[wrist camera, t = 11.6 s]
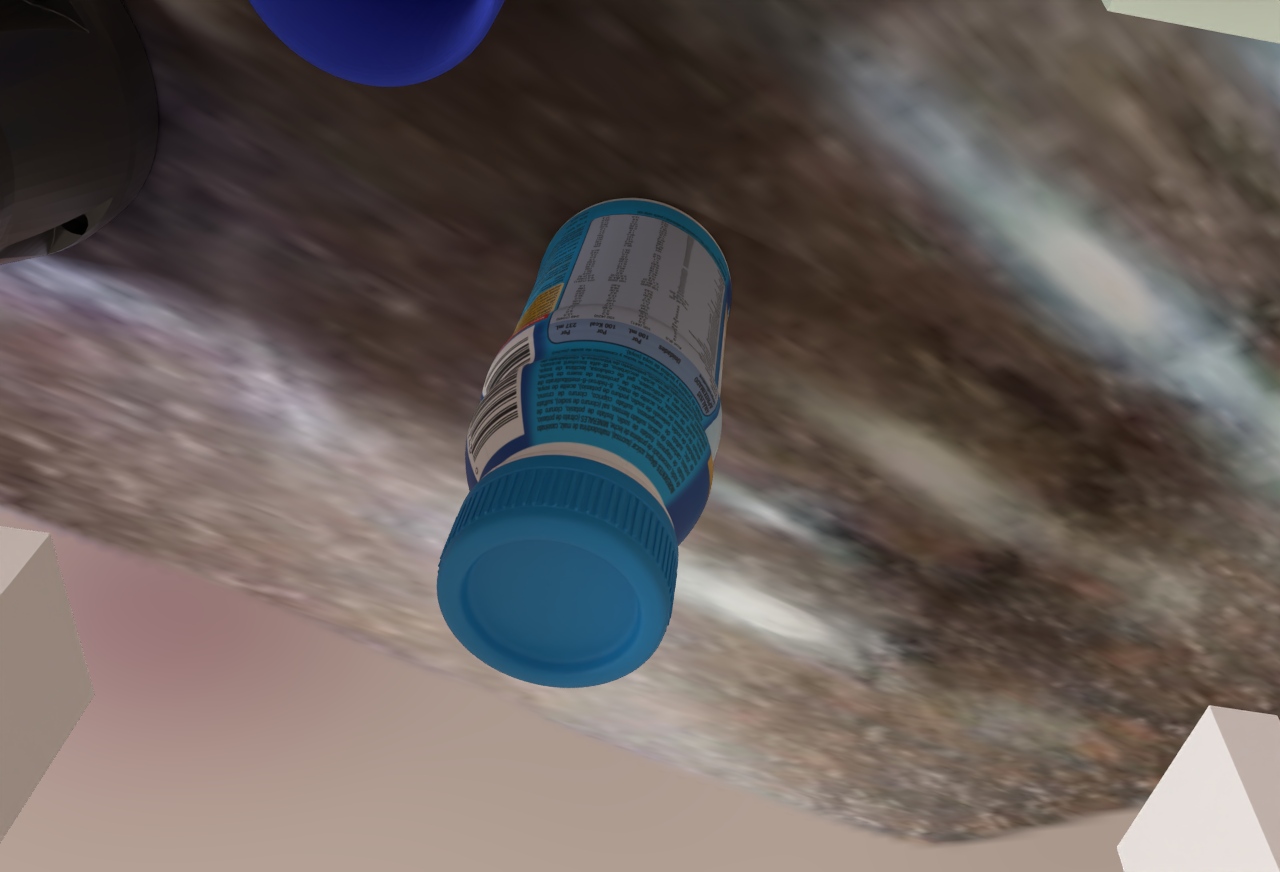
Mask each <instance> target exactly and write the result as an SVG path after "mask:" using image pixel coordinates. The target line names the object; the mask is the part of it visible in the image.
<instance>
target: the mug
mask: <svg viewBox="0 0 1280 872" xmlns="http://www.w3.org/2000/svg"><path fill="white" fill-rule="evenodd" d="M504 1H505V0H249V2H250V3H251V5H252V7H253V8H254V9H255V11H256V12H257V13H258V15H259V16H260V17H261V19H262V20H263V21H264V23H265V24H266V25H267V26H268V27H269V29H270V30H271V31H272V32H273V33H274V34H275V35H276V36H277V37H278V38H279V39H280V40H281V41H282V42H283V43H284V44H285V45H287V46H288V47H289V48H290V49H291V50H292V51H294V52H295V53H296V54H298V55H299V56H300V57H302V58H303V59H305V60H306V61H308V62H309V63H311V64H312V65H314V66H316V67H318V68H319V69H321V70H323V71H325V72H327V73H330V74H332V75H334V76H336V77H339V78H342V79H345V80H348V81H351V82H355V83H359V84H364V85H370V86H380V87H397V86H406V85H412V84H417V83H420V82H424V81H427V80H430V79H432V78H435V77H437V76H440V75H442V74H443V73H445V72H447V71H449V70H450V69H452V68H454V67H455V66H456V65H458V64H459V63H460V62H462V61H463V60H464V59H465V58H466V57H468V56H469V55H470V54H471V53H472V52H473V51H474V50H475V48H476V47H477V46H478V45H479V44H480V43H481V41H482V40H483V39H484V37H485V36H486V34H487V33H488V31H489V29H490V28H491V26H492V24H493V22H494V20H495V19H496V17H497V15H498V13H499V11H500V9H501V7H502V5H503V3H504Z"/></svg>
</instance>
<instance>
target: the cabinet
mask: <svg viewBox="0 0 1280 872" xmlns="http://www.w3.org/2000/svg"><path fill="white" fill-rule="evenodd" d="M1102 2H1103V4H1104V5H1105V7H1106V9H1107V11H1111V12H1117V13H1122V14H1127V15H1132V16H1138V17H1143V18H1148V19H1153V20H1159V21H1164V22H1169V23H1174V24H1180V25H1185V26H1190V27H1195V28H1201V29H1206V30H1211V31H1216V32H1222V33H1227V34H1232V35H1237V36H1243V37H1248V38H1253V39H1258V40H1264V41H1269V42H1274V43H1279V44H1280V0H1102Z"/></svg>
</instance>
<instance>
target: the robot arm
mask: <svg viewBox="0 0 1280 872" xmlns="http://www.w3.org/2000/svg"><path fill="white" fill-rule="evenodd" d="M157 138H158V105H157V97H156V90H155V85H154V81H153V76H152V72H151V69H150V65H149V62H148V59H147V56H146V53H145V50H144V48H143V45H142V43H141V40H140V38H139V36H138V33H137V31H136V29H135V27H134V25H133V23H132V21H131V19H130V17H129V15H128V13H127V11H126V10H125V8H124V6H123V4H122V3H121V1H120V0H0V265H2V264H7V263H11V262H16V261H21V260H26V259H31V258H35V257H40V256H45V255H50V254H53V253H56V252H59V251H62V250H65V249H67V248H69V247H72V246H74V245H76V244H78V243H80V242H82V241H83V240H85V239H87V238H89V237H90V236H91V235H93V234H94V233H96V232H97V231H98V230H100V229H101V228H102V227H103V226H105V225H106V224H107V223H108V222H110V221H111V220H112V219H113V218H115V217H116V216H117V215H118V214H119V213H121V212H122V211H123V210H124V209H125V208H126V207H127V206H128V205H129V204H130V203H131V202H132V201H133V199H134V198H135V197H136V195H137V194H138V193H139V191H140V189H141V188H142V186H143V185H144V183H145V181H146V178H147V176H148V174H149V172H150V169H151V166H152V163H153V159H154V155H155V151H156V145H157ZM94 695H95V694H94V690H93V686H92V683H91V679H90V676H89V672H88V668H87V664H86V661H85V657H84V654H83V650H82V646H81V643H80V639H79V635H78V632H77V628H76V625H75V621H74V617H73V614H72V610H71V607H70V603H69V599H68V596H67V592H66V588H65V585H64V581H63V578H62V574H61V570H60V567H59V563H58V559H57V556H56V552H55V548H54V545H53V541H52V538H51V534H50V533H45V532H38V531H31V530H24V529H18V528H11V527H4V526H0V843H1V841H2V840H3V838H4V836H5V835H6V833H7V832H8V830H9V828H10V827H11V825H12V824H13V822H14V821H15V819H16V817H17V816H18V814H19V813H20V811H21V810H22V808H23V807H24V805H25V803H26V802H27V800H28V799H29V797H30V796H31V794H32V792H33V791H34V789H35V788H36V786H37V785H38V783H39V782H40V780H41V778H42V777H43V775H44V774H45V772H46V771H47V769H48V767H49V766H50V764H51V763H52V761H53V760H54V758H55V757H56V755H57V753H58V752H59V750H60V749H61V747H62V745H63V744H64V742H65V741H66V739H67V738H68V736H69V735H70V733H71V731H72V730H73V728H74V727H75V725H76V723H77V722H78V720H79V719H80V717H81V716H82V714H83V712H84V711H85V709H86V708H87V706H88V705H89V703H90V702H91V700H92V699H93V697H94ZM1117 849H1118V853H1119V856H1120V860H1121V863H1122V866H1123V870H1124V872H1280V720H1279V718H1278V716H1277V715H1271V714H1264V713H1257V712H1251V711H1244V710H1237V709H1230V708H1224V707H1217V706H1210V705H1209V706H1208V708H1207V709H1206V711H1205V713H1204V714H1203V716H1202V717H1201V719H1200V720H1199V722H1198V723H1197V725H1196V726H1195V728H1194V729H1193V731H1192V732H1191V734H1190V736H1189V737H1188V739H1187V740H1186V742H1185V743H1184V745H1183V746H1182V748H1181V749H1180V751H1179V752H1178V754H1177V756H1176V757H1175V759H1174V760H1173V762H1172V763H1171V765H1170V766H1169V768H1168V769H1167V771H1166V772H1165V774H1164V775H1163V777H1162V779H1161V780H1160V782H1159V783H1158V785H1157V786H1156V788H1155V789H1154V791H1153V792H1152V794H1151V795H1150V797H1149V799H1148V800H1147V802H1146V803H1145V805H1144V806H1143V808H1142V809H1141V811H1140V812H1139V814H1138V815H1137V817H1136V819H1135V820H1134V822H1133V823H1132V825H1131V826H1130V828H1129V829H1128V831H1127V833H1126V834H1125V836H1124V837H1123V838H1122V840H1121V842H1120V843H1119V845H1118V846H1117Z"/></svg>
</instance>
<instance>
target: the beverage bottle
mask: <svg viewBox="0 0 1280 872" xmlns="http://www.w3.org/2000/svg"><path fill="white" fill-rule="evenodd" d="M731 296H732V287H731V277H730V272H729V268H728V265H727V262H726V260H725V257H724V255H723V253H722V251H721V249H720V247H719V246H718V244H717V243H716V241H715V240H714V238H713V237H712V236H711V235H710V233H709V232H708V231H707V230H706V229H705V228H704V227H703V226H702V225H701V224H700V223H698V222H697V221H696V220H695V219H693V218H692V217H691V216H689V215H688V214H686V213H684V212H683V211H681V210H679V209H677V208H675V207H673V206H670V205H668V204H665V203H662V202H658V201H654V200H649V199H642V198H619V199H612V200H608V201H604V202H600V203H597V204H595V205H592V206H590V207H588V208H586V209H584V210H582V211H580V212H579V213H577V214H576V215H574V216H573V217H572V218H570V219H569V220H568V221H567V222H566V223H565V224H564V225H563V226H562V227H561V228H560V229H559V230H558V232H557V233H556V234H555V236H554V237H553V239H552V240H551V242H550V244H549V246H548V248H547V250H546V252H545V254H544V257H543V259H542V262H541V265H540V268H539V272H538V276H537V280H536V283H535V285H534V288H533V290H532V292H531V295H530V297H529V299H528V301H527V304H526V306H525V308H524V310H523V313H522V315H521V317H520V319H519V322H518V324H517V326H516V328H515V331H514V333H513V335H512V336H511V337H510V338H509V339H508V341H507V342H506V343H505V344H504V345H503V346H502V348H501V349H500V351H499V352H498V354H497V355H496V357H495V359H494V361H493V362H492V365H491V367H490V369H489V372H488V374H487V377H486V380H485V383H484V387H483V391H482V396H481V402H480V404H479V405H478V407H477V409H476V411H475V413H474V415H473V417H472V420H471V423H470V426H469V430H468V434H467V440H466V452H465V460H466V474H467V481H468V486H469V490H470V492H469V494H468V495H467V497H466V499H465V500H464V502H463V504H462V506H461V509H460V511H459V514H458V516H457V517H456V520H455V522H454V525H453V527H452V529H451V532H450V534H449V537H448V539H447V542H446V544H445V547H444V549H443V552H442V555H441V557H440V559H441V560H440V563H439V565H438V567H439V570H438V578H437V596H438V602H439V606H440V609H441V612H442V614H443V617H444V619H445V621H446V623H447V625H448V626H449V628H450V630H451V631H452V633H453V634H454V635H455V636H456V638H457V639H458V640H459V641H460V642H461V643H462V645H463V646H464V647H465V648H467V649H468V650H469V651H470V652H471V653H472V654H473V655H475V656H476V657H477V658H479V659H480V660H481V661H483V662H484V663H486V664H487V665H489V666H491V667H492V668H494V669H496V670H498V671H500V672H502V673H504V674H506V675H509V676H511V677H514V678H517V679H520V680H523V681H526V682H530V683H534V684H538V685H543V686H550V687H560V688H579V687H589V686H595V685H600V684H604V683H608V682H611V681H614V680H616V679H619V678H621V677H623V676H626V675H627V674H629V673H631V672H633V671H634V670H636V669H637V668H639V667H640V666H641V665H642V664H644V663H645V662H646V661H647V660H648V659H649V658H650V657H651V656H652V654H653V653H654V652H655V651H656V649H657V648H658V646H659V644H660V642H661V641H662V638H663V636H664V634H665V632H666V628H667V626H668V625H669V621H670V618H671V613H672V607H673V600H674V592H675V585H676V578H677V567H678V546H679V545H680V543H681V542H682V541H683V540H684V539H685V538H686V536H687V535H688V534H689V533H690V531H691V530H692V528H693V527H694V525H695V524H696V522H697V521H698V519H699V517H700V515H701V513H702V512H703V509H704V507H705V505H706V502H707V500H708V497H709V494H710V490H711V485H712V478H713V462H714V459H715V456H716V453H717V450H718V446H719V442H720V436H721V429H722V408H721V401H720V392H721V381H722V371H723V360H724V350H725V340H726V330H727V322H728V318H729V313H730V306H731Z"/></svg>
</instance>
